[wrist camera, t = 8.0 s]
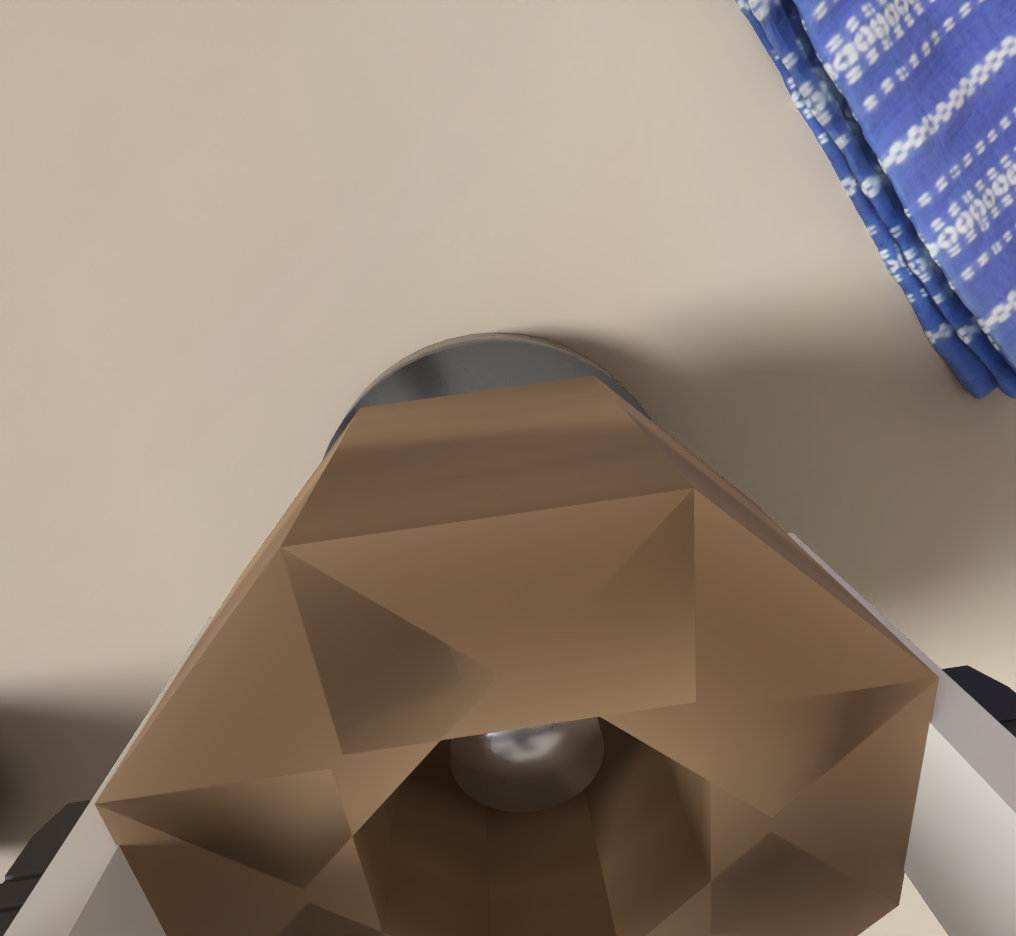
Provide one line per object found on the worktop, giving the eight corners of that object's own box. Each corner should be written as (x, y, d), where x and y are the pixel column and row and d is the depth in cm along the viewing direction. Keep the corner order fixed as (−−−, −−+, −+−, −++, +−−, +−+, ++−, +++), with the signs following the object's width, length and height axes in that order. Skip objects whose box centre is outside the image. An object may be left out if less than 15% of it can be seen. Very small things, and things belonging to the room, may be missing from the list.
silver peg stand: (664, 615, 20) (822, 914, 11) (365, 660, 20) (288, 999, 11) (653, 309, 16) (875, 401, 8) (286, 360, 16) (78, 514, 7)
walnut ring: (745, 767, 14) (877, 1022, 10) (327, 831, 14) (262, 1121, 10) (757, 352, 11) (981, 447, 6) (192, 431, 11) (-19, 589, 6)
